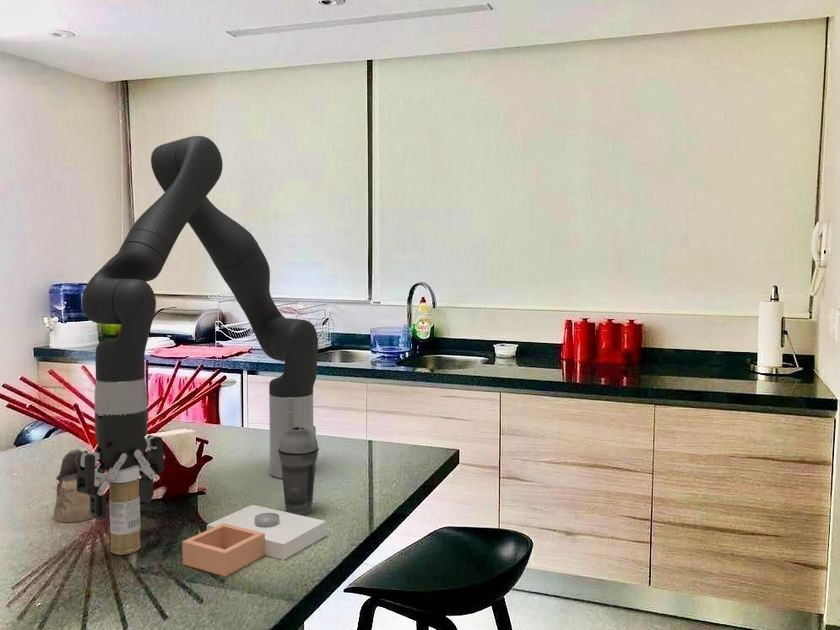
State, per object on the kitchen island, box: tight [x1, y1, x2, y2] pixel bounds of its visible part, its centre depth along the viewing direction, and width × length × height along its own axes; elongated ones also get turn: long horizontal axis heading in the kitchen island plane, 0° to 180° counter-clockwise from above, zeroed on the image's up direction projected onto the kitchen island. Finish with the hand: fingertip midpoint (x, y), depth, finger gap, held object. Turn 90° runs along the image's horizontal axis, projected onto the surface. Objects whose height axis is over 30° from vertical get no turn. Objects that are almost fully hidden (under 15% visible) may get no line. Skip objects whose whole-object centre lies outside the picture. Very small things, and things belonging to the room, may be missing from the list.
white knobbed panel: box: [181, 504, 327, 577], centre depth 113 cm, size 20×16×4 cm
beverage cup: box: [278, 404, 320, 516], centre depth 129 cm, size 7×7×20 cm
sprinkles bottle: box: [108, 465, 142, 556], centre depth 111 cm, size 5×5×14 cm
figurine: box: [53, 448, 94, 523], centre depth 126 cm, size 7×7×12 cm
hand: (123, 509), depth 111 cm, fingers open, 8 cm apart
